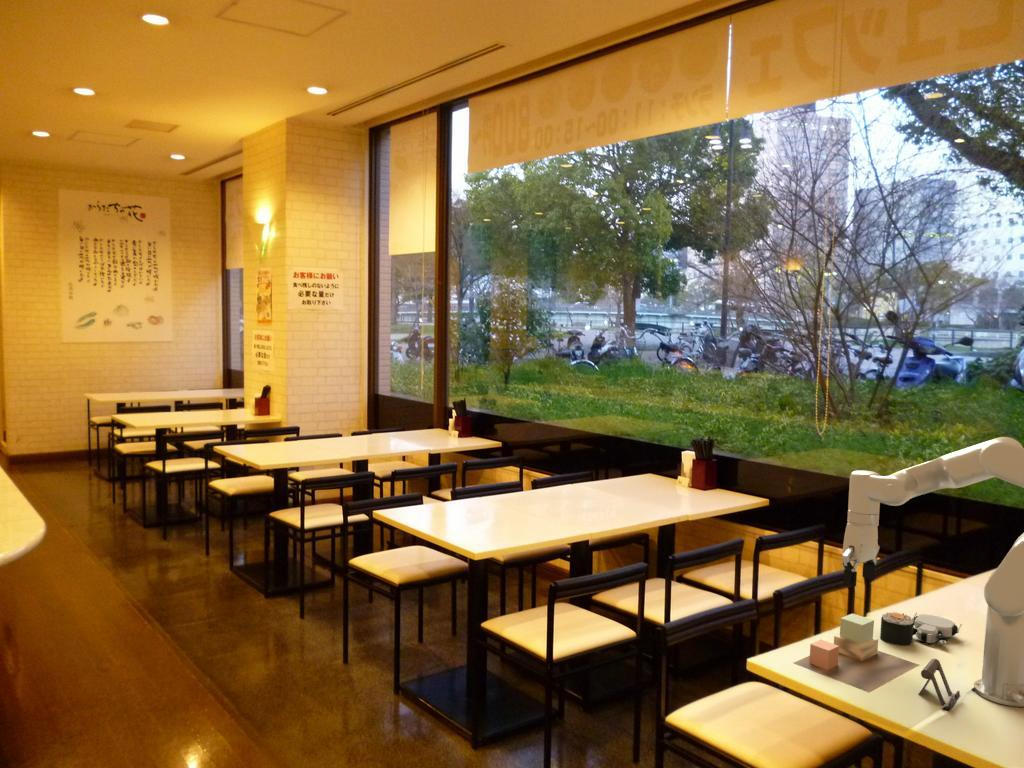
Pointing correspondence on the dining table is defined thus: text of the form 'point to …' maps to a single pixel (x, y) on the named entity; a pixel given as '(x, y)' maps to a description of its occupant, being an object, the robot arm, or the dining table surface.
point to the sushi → (897, 629)
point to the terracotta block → (824, 654)
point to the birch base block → (856, 647)
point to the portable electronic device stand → (929, 674)
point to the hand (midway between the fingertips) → (859, 581)
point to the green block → (856, 628)
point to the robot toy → (933, 628)
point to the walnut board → (863, 670)
